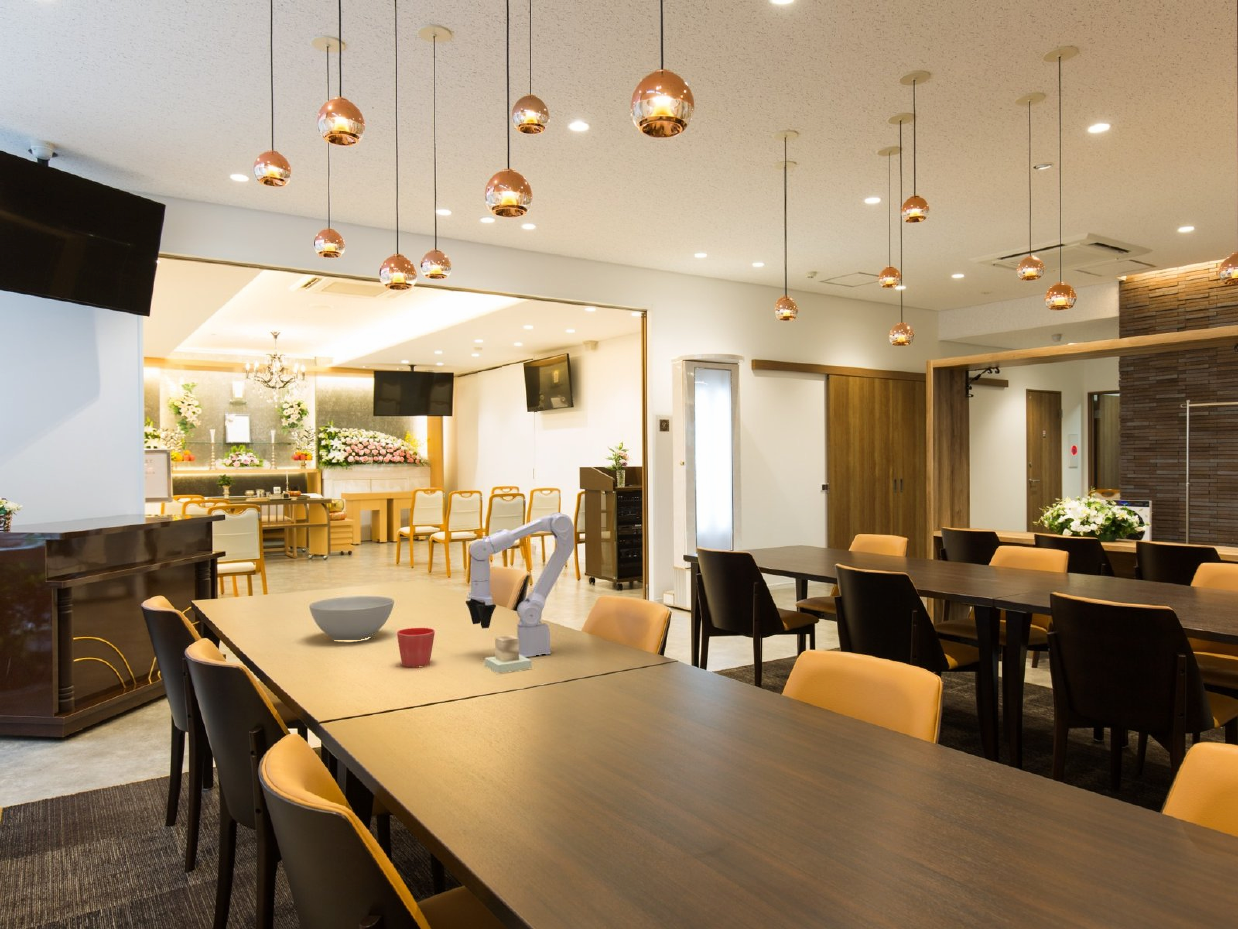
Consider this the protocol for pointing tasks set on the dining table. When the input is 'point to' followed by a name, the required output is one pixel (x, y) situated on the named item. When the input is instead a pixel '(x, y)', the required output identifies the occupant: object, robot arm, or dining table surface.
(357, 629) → the decorative bowl
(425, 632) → the flower pot
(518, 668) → the base block
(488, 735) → the dining table surface
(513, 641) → the maple block
